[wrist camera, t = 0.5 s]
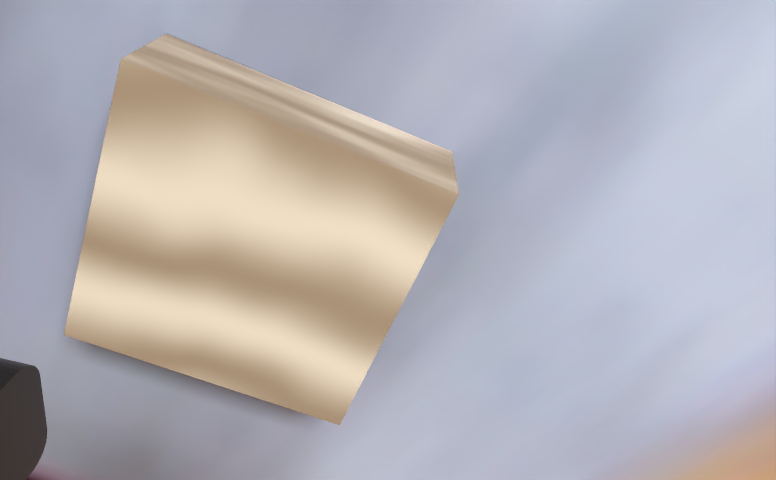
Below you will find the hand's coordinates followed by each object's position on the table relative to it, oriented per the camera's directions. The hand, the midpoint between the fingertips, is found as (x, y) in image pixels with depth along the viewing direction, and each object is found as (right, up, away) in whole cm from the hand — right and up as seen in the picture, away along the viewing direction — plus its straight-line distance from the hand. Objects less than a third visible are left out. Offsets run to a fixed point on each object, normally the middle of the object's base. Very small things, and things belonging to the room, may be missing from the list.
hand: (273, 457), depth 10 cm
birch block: (-4, +5, +22) cm, 23 cm away
